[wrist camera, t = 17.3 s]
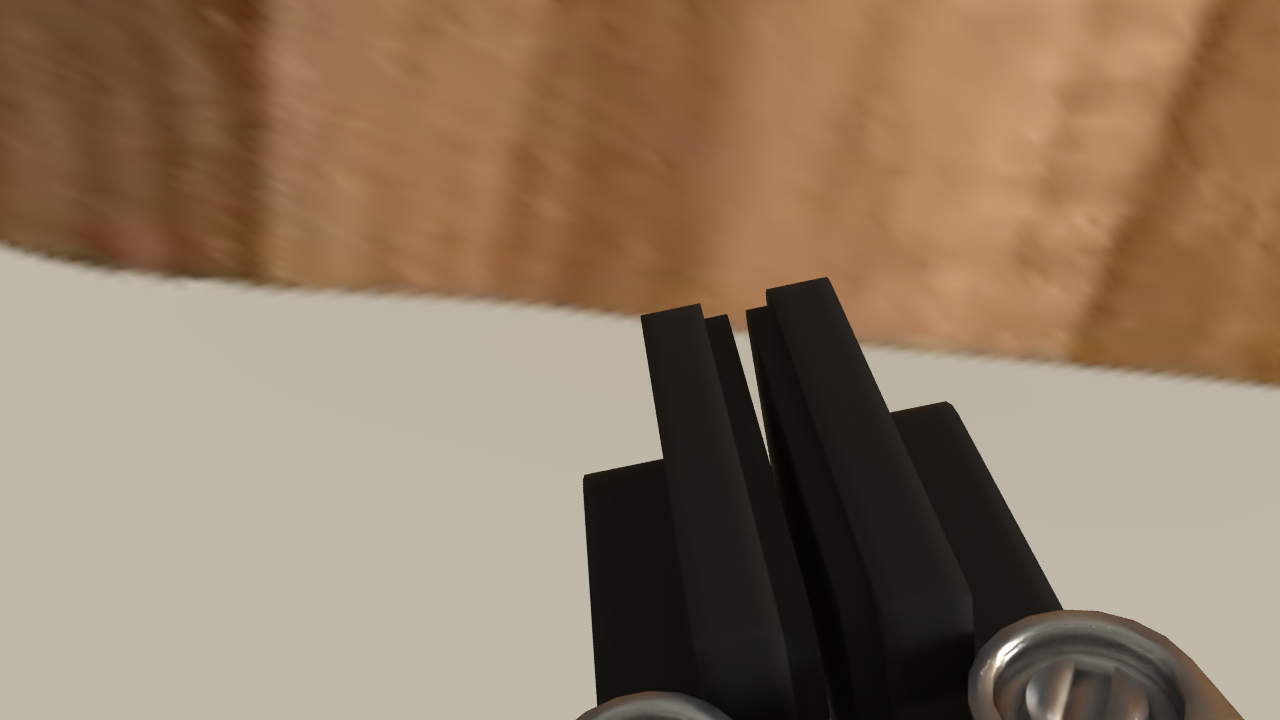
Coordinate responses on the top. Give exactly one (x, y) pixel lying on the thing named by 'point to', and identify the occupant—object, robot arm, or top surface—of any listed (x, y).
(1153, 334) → the top surface
